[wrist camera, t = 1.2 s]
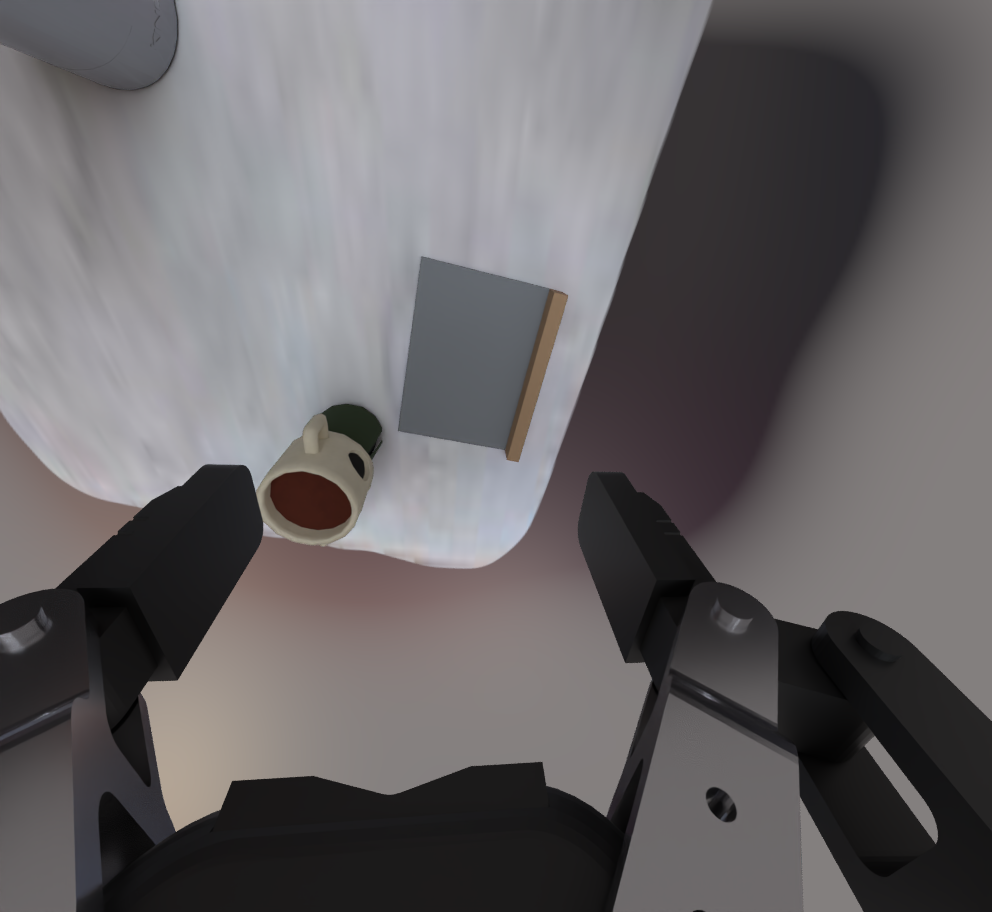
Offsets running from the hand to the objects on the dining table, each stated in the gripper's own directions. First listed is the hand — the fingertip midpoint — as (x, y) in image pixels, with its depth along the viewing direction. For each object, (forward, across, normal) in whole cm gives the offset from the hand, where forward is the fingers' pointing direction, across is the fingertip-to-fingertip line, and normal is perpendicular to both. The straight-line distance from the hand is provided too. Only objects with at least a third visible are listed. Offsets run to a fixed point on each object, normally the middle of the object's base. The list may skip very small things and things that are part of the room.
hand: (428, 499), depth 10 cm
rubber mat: (+29, +2, -6) cm, 30 cm away
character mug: (+29, -9, -13) cm, 33 cm away
